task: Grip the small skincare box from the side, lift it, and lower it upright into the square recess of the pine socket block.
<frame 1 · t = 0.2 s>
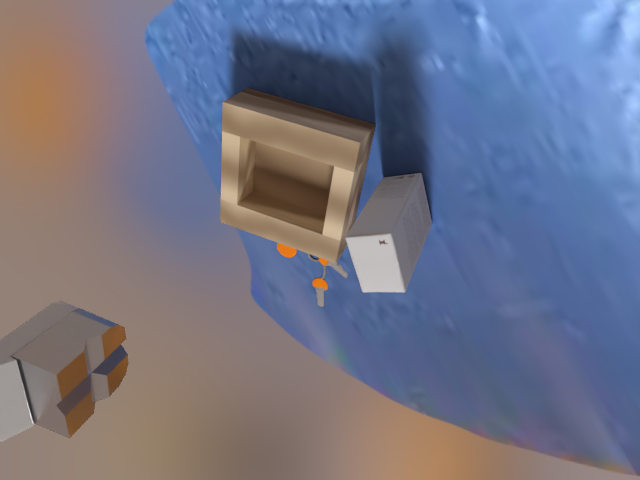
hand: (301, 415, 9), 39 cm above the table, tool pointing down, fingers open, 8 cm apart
socket block: (301, 167, 53), on the table
skincare box: (408, 199, 50), on the table
key chain: (313, 259, 60), on the table
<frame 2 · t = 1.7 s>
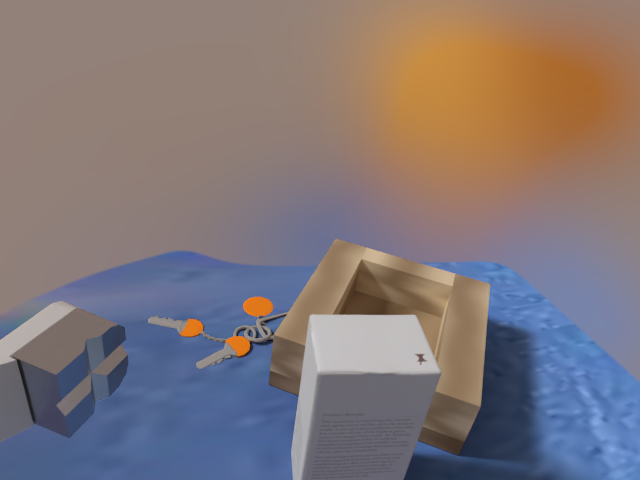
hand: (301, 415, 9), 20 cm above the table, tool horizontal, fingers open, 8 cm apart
socket block: (381, 352, 40), on the table
key chain: (232, 332, 41), on the table
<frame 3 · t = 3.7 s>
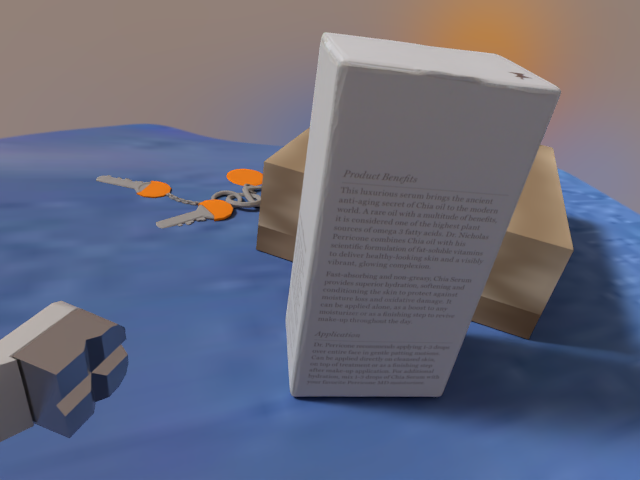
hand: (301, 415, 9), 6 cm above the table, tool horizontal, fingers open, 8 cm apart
socket block: (409, 229, 30), on the table
skincare box: (355, 361, 20), on the table
key chain: (211, 201, 30), on the table
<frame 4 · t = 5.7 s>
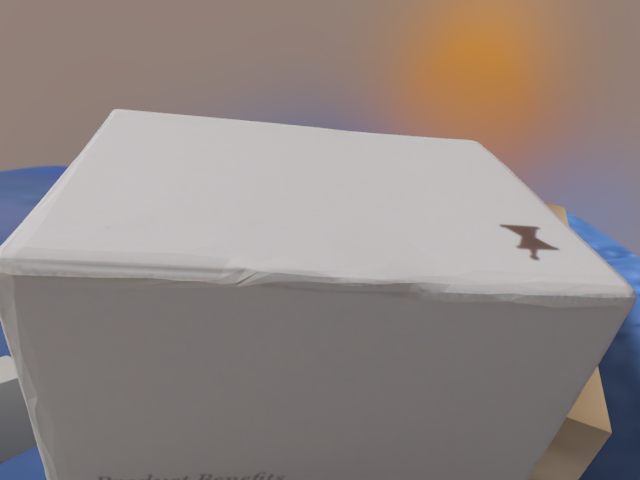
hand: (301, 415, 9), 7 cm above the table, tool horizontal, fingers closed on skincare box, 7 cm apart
socket block: (372, 323, 22), on the table
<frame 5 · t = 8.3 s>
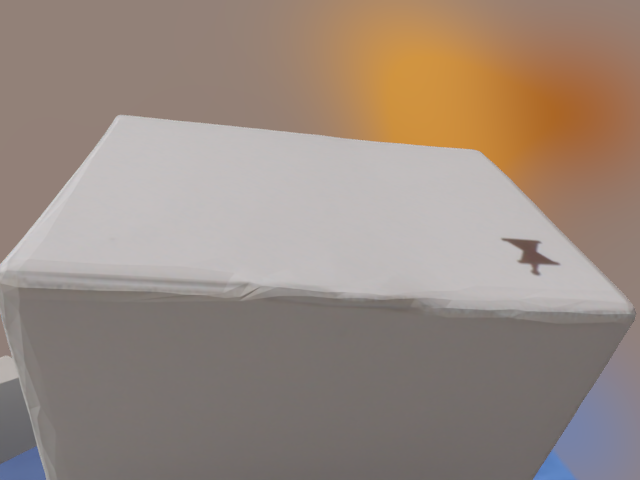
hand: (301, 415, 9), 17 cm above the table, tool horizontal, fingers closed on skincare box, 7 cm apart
when the fingers open (9 cm above the table, at t = 10.8 s): skincare box drops 1 cm, resting on socket block.
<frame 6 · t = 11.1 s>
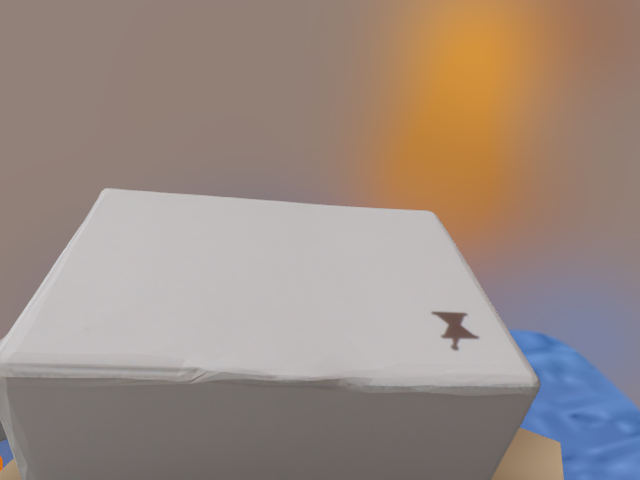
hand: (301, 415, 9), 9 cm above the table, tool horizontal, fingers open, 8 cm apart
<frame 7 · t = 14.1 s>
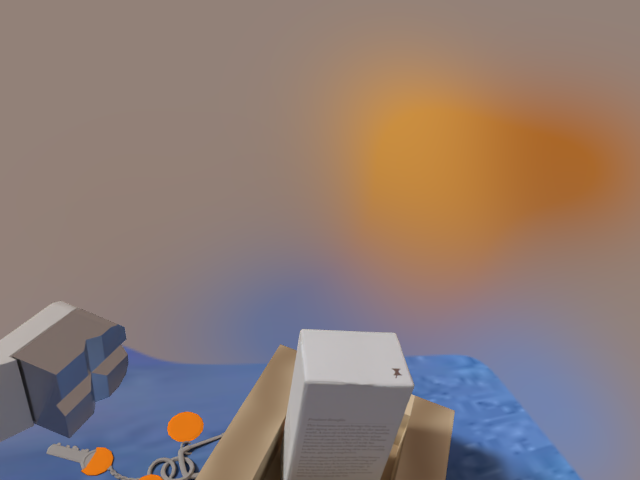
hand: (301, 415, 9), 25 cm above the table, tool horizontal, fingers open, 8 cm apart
key chain: (149, 465, 34), on the table
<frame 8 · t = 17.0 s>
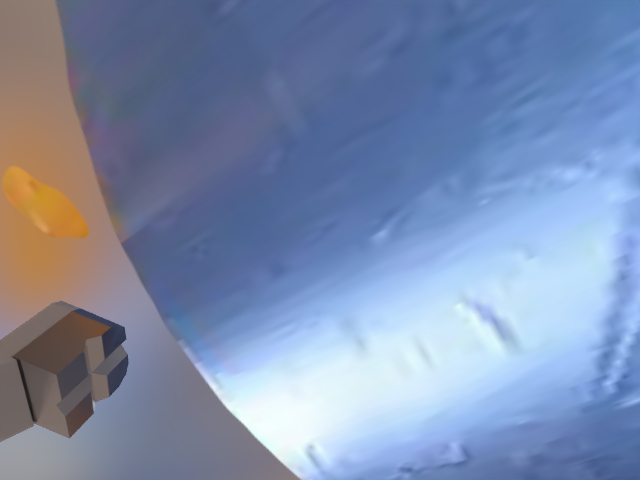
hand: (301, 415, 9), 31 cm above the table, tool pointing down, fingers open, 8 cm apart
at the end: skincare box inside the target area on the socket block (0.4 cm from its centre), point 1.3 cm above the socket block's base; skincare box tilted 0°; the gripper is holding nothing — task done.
